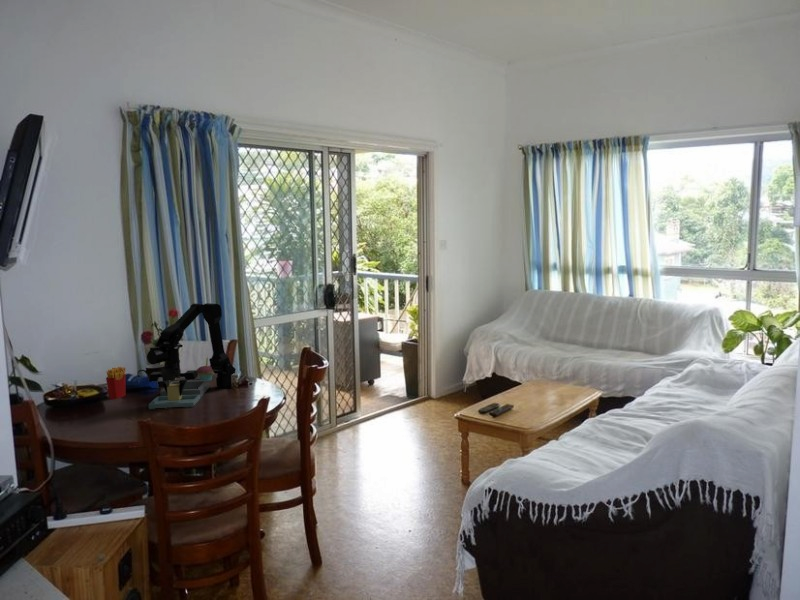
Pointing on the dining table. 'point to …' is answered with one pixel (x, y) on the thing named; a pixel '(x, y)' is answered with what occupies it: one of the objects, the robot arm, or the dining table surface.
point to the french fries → (116, 382)
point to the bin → (191, 387)
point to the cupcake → (205, 372)
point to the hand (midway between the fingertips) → (174, 395)
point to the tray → (174, 402)
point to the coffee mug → (153, 370)
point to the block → (174, 392)
